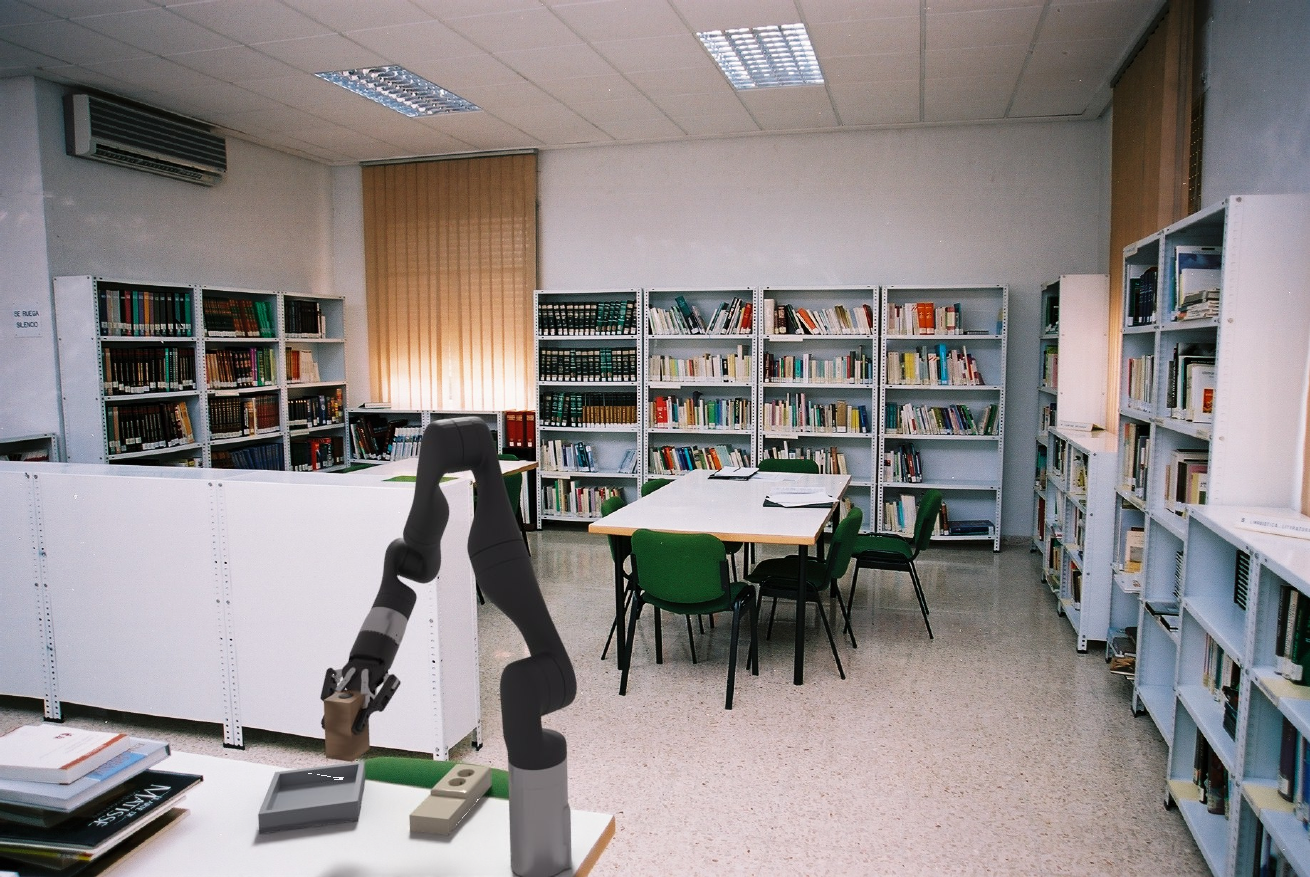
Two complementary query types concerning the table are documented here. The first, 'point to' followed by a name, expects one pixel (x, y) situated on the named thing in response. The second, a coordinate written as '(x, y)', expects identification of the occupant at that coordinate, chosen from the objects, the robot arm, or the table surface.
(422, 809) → the electrical outlet
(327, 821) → the tray
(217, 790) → the table surface
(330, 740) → the block
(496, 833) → the table surface
